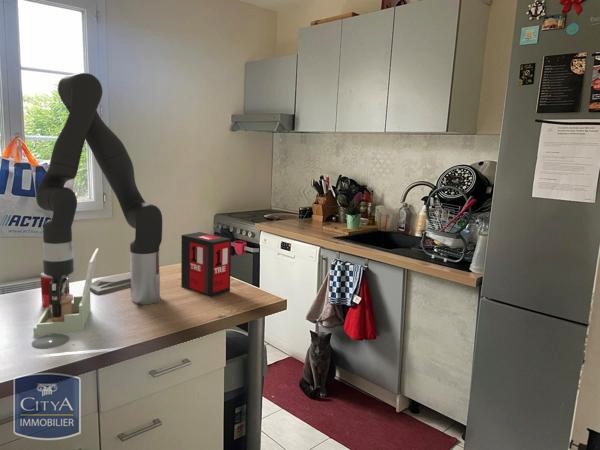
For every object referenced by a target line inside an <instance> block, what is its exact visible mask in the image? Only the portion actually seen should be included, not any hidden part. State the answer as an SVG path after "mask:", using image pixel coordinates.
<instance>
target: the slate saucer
mask: <svg viewBox="0 0 600 450" xmlns="http://www.w3.org/2000/svg"><path fill="white" fill-rule="evenodd" d="M69 340H70V337H69V336H68V335H67V334H65V333H55V334H44V335H42V336H39V337H37V338H35V339H34V340H33V341H32V342H31V346H32V347H34V348H35V349H41V350H44V349H46V350H47V349H53V348H57V347H58V348H59V347H60V346H63V345H65V344H66V343H68V342H69Z"/></svg>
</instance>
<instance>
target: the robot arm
mask: <svg viewBox="0 0 600 450" xmlns="http://www.w3.org/2000/svg"><path fill="white" fill-rule="evenodd" d="M57 91H58V96H59V98H60V100H61V102H62V103H63V105H64V106H65V108H66V109H67V111H68V115H67V118H66V121H65V123H64V125H63V128H62V129H61V130H60V133H59V134H58V136H57V139H56V141H55V143H54V145H53V148H52V152H51V156H50V161H49V164H48V165H49V166H48V169H47V171H46V172H45V174H44V176H43V178H42V180H41V182H40V183H39V185H38V187H37V189H36V195H35V196H36V197H35V201H36V204H37V205H38V207H39V208H40V209H42V210H44V211H49V212H53V213H52V217H51V219H49V220H46V221H45V222H43V225H42V228H43V229H42V233H43V234H42V237H43V239H42V240H43V244H42V245H43V246H42V261H43V262H42V265H43V269H42V270H43V272H44V274H45V275H47V276H51V277H52V281H50V283H49V305H52V317H53V318H57V317H61V315H62V309H61V303H62V297H63V296H64V293H65V294H68V290H69V291H70V278H69V277H70V276H69V275H71V274H73V273H74V271H75V270H74V268H75V267H74V266H75V265H74V263H75V262H74V245H73V232H72V231H73V230H72V229H73V227H72V226H73V223H74V219H75V216H76V211H77V208H78V207H77V206H78V199H77V196H76V194H75V192H74V190H72V189H71V188H69V187H65V185H66V183H67V182H68V181H72V180H74V179H75V178H76V177H77V175H78V171H79V166H80V162H81V157H82V153H83V148H84V146H85V142H86V143H87V145H88V147H89V148H90V150H91V152H92V154H93V157H94V158H95V160H96V162H97V165H98V166H99V169H100V170H101V172H102V173H103V175H104V177H105V178H106V181H107V182H108V184H109V187H110V188H111V189H112V191H113V192H114V194H115V196H116V199H117V202H118V204H119V206H120V208H121V211H122V214H123V216H124V218H125V221H126V222H127V224H128V225H129V226H130V227H131V228H133V229H135V231H134V232H135V233H134V234H135V236H134V240H133V241H131V242H130V244H129V258H130V259H129V260H130V261H129V262H130V265H129V266H130V268H129V269H130V273H129V274H131V287H130V301H131V302H132V303H136V305H150V304H154V303H160V302H161V300H160V299H161V297H160V296H161V289H160V288H161V285H160V284H161V283H160V281H161V280H160V278H161V275H160V245H161V244H162V240H163V214H162V212H161V210H160V208H159V207H158V206H156V205H154V204H151V203H148V202H146V201H145V200H144V198H143V196H142V194H141V193H140V191H139V189H138V186H137V184H136V177H135V172H134V169H135V168H134V164H133V160H132V159H131V157H130V154H129V153H128V150H127V149H126V146H125V144H124V143H123V142H122V140H121V139H120V138H119V137H118V136H117V135H116V133H115V132H113V130H111V128H110V127H109V126H108V125H107V124H106V123H105V122H104V120H103V119H102V118H101V115H100V114H99V112H98V111H97V110H98V108H99V106H100V102H101V100H102V96H103V86H102V83H101V82H100V80H99V79H98V78H97V77H96V76H95V75H93V74H91V73H89V72H78V73H73V74H69V75H66V76H64V77H62V78H61V79H60V80H59V82H58V85H57ZM55 297H57V300H54V298H55Z"/></svg>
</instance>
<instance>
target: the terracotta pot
mask: <svg viewBox="0 0 600 450" xmlns="http://www.w3.org/2000/svg"><path fill="white" fill-rule="evenodd" d="M54 300H57V297H55V298H54ZM73 301H74V295H73V294H72V293H69V294H65V293H64V296H63V297H62V303H61V309H62V315H61V317H57V318H53V317H52V322H64V315H66V314H72V302H73ZM51 312H52V305H51Z"/></svg>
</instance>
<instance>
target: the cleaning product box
mask: <svg viewBox="0 0 600 450" xmlns="http://www.w3.org/2000/svg"><path fill="white" fill-rule="evenodd" d="M180 255H181V262H180V263H181V267H180V268H181V271H180V272H181V284H180V286H181V287H180V288H182V289H185V290H188V291H192V292H195V293H198V294H199V295H204V296H206V297H209V298H216V297H218V296H222V295H223V294H226V293H230V292H231V267H232V266H231V259H232V258H231V256H232V238H229V237H225V236H220V235H217V234H211V233H206V232H202V231H198V232H192V233H187V234H185V233H184V234H181V254H180ZM229 291H230V292H229Z"/></svg>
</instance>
